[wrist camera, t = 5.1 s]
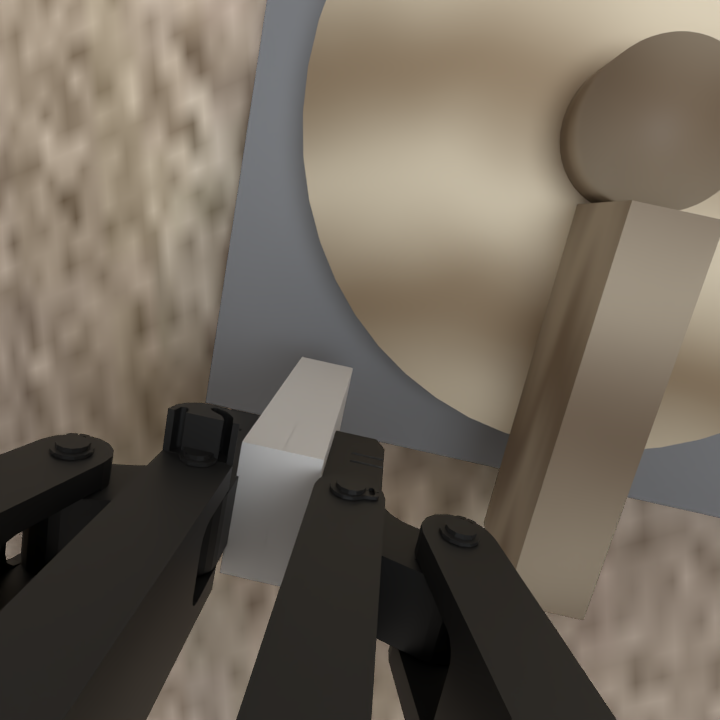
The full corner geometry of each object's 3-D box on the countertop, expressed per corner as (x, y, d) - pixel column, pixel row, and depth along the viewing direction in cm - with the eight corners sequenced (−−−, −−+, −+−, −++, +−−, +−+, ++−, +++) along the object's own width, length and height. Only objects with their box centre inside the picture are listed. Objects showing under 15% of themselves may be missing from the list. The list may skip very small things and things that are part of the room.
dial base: (792, 518, 22) (863, 573, 19) (218, 390, 22) (185, 421, 19) (1094, -171, 17) (1272, -270, 13) (331, -327, 17) (313, -462, 14)
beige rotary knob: (757, 557, 21) (898, 692, 15) (253, 443, 21) (196, 532, 15) (1057, -141, 15) (1455, -357, 10) (382, -279, 16) (370, -571, 10)
